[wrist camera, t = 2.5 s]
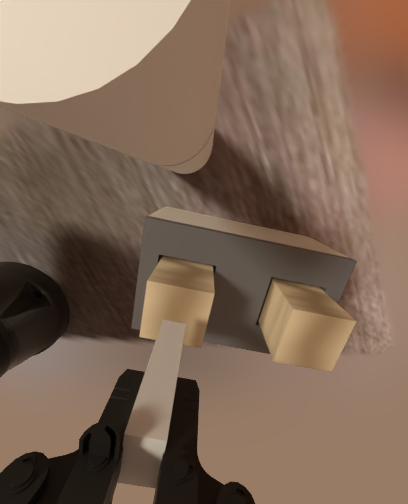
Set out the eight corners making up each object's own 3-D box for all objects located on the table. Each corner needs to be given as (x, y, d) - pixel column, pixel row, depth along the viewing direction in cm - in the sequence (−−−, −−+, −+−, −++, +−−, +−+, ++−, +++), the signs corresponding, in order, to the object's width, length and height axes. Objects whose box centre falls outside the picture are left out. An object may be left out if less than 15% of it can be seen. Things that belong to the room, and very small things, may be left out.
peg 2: (253, 307, 25) (273, 361, 17) (265, 268, 24) (293, 309, 16) (294, 315, 25) (331, 371, 18) (308, 277, 24) (356, 321, 16)
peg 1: (160, 289, 25) (139, 337, 17) (167, 248, 23) (147, 280, 15) (203, 297, 25) (201, 348, 17) (212, 258, 23) (214, 293, 16)
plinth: (153, 285, 32) (131, 328, 23) (165, 206, 29) (145, 217, 19) (281, 310, 33) (311, 361, 24) (308, 236, 30) (357, 261, 20)
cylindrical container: (205, 180, 28) (187, 152, 4) (150, 166, 27) (-260, 36, 3) (219, 118, 25) (388, -859, 2) (160, 102, 25) (-772, -1497, 1)
